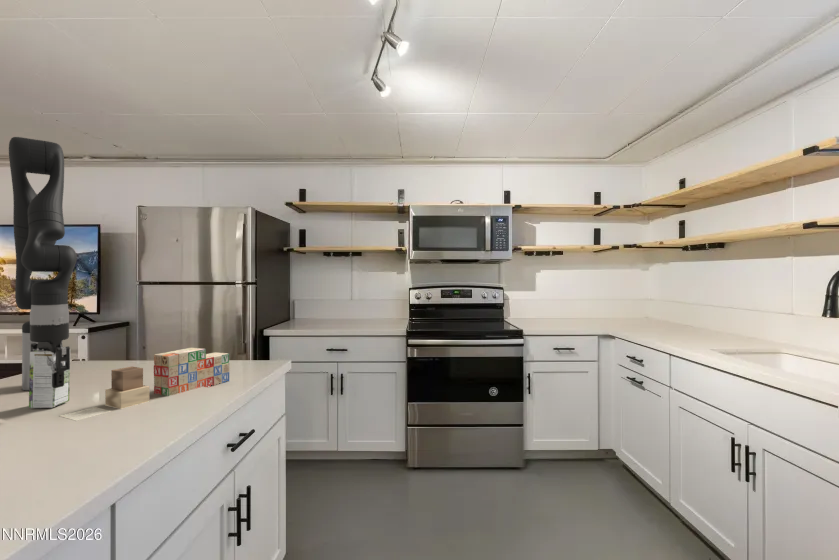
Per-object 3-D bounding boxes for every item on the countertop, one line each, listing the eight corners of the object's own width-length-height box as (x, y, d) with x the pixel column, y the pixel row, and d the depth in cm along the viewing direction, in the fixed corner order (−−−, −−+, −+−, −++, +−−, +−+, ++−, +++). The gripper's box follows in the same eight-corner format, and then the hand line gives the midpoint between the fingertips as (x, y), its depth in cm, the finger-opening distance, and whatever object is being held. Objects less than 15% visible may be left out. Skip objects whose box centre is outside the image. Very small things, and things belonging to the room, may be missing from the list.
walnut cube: (111, 389, 108) (111, 370, 108) (131, 384, 112) (131, 366, 112) (122, 391, 105) (123, 372, 105) (143, 386, 110) (143, 368, 110)
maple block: (105, 404, 107) (105, 389, 107) (133, 397, 113) (133, 383, 113) (121, 408, 104) (121, 392, 104) (149, 401, 110) (149, 386, 110)
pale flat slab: (44, 414, 101) (44, 411, 101) (120, 396, 117) (120, 394, 117) (78, 424, 95) (78, 421, 95) (153, 403, 110) (153, 401, 110)
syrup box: (46, 401, 109) (46, 347, 108) (70, 401, 109) (70, 346, 109) (28, 408, 103) (28, 351, 103) (53, 408, 104) (53, 351, 103)
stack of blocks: (215, 379, 137) (215, 343, 137) (229, 381, 135) (229, 344, 135) (153, 396, 118) (153, 353, 118) (168, 399, 115) (168, 355, 115)
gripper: (17, 321, 105) (17, 385, 106) (46, 325, 99) (46, 392, 100) (53, 318, 112) (53, 378, 112) (82, 322, 106) (82, 385, 106)
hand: (49, 385), depth 106 cm, fingers closed on syrup box, 7 cm apart
